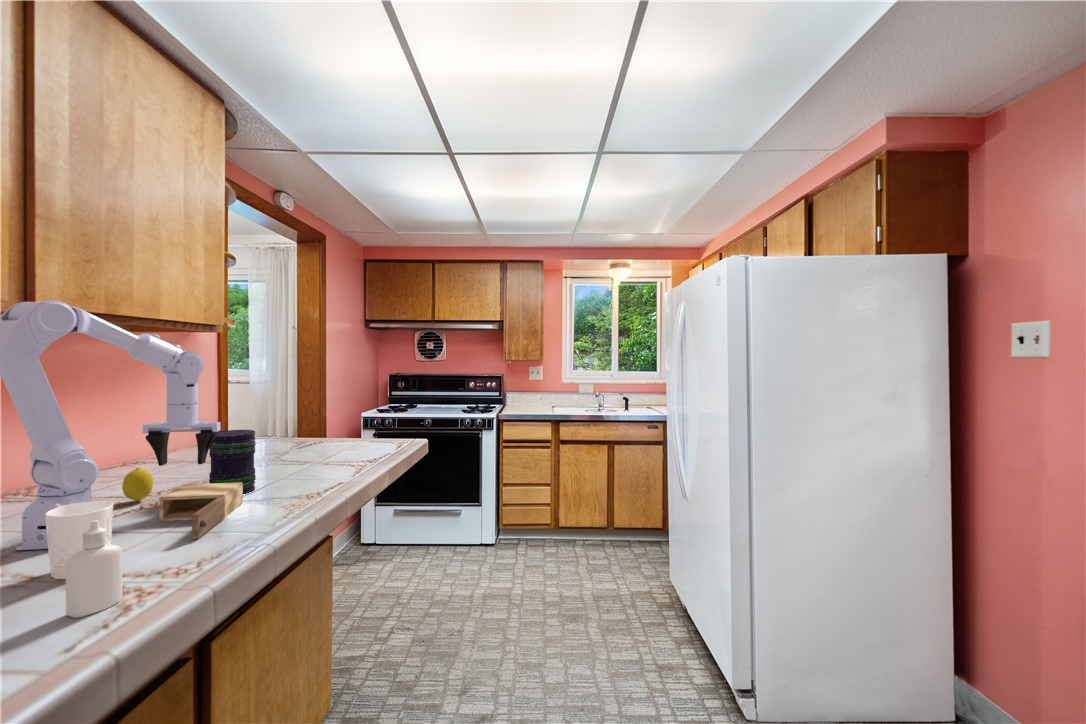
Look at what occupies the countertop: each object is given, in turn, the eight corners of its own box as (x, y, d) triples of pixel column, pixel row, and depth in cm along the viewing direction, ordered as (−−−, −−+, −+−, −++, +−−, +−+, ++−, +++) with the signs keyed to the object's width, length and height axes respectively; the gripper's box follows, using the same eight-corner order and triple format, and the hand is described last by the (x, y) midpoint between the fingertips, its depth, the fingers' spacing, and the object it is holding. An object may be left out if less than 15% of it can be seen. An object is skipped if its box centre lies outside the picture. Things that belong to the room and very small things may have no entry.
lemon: (159, 498, 116) (159, 465, 116) (137, 506, 110) (137, 471, 110) (138, 498, 116) (138, 464, 116) (115, 505, 111) (115, 470, 111)
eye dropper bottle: (68, 608, 66) (68, 520, 66) (123, 595, 70) (123, 512, 70) (63, 622, 63) (63, 530, 63) (121, 608, 66) (121, 521, 66)
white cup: (122, 557, 83) (122, 498, 83) (99, 577, 76) (99, 513, 75) (62, 563, 80) (62, 503, 80) (33, 585, 73) (32, 518, 73)
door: (229, 517, 103) (229, 495, 103) (203, 538, 91) (203, 514, 91) (220, 517, 103) (220, 496, 102) (192, 539, 91) (192, 514, 90)
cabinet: (224, 517, 103) (224, 494, 103) (159, 521, 100) (159, 497, 100) (242, 503, 113) (242, 482, 113) (183, 506, 110) (183, 484, 110)
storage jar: (234, 498, 116) (234, 436, 116) (198, 496, 118) (198, 435, 118) (264, 487, 126) (264, 430, 126) (231, 485, 128) (231, 429, 128)
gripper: (225, 401, 115) (225, 459, 115) (154, 402, 112) (154, 461, 112) (213, 404, 108) (213, 465, 108) (137, 405, 105) (137, 468, 105)
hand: (182, 464), depth 110 cm, fingers open, 7 cm apart
